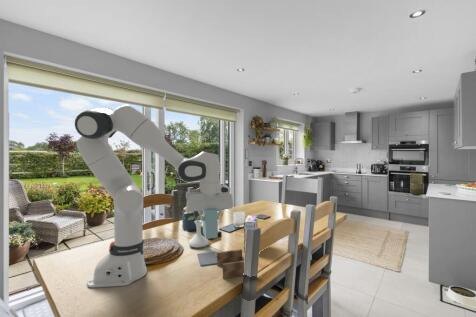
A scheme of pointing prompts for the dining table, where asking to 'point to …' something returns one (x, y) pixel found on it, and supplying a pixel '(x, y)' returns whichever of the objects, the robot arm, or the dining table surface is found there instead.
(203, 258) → the slate coaster
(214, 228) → the teal block
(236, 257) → the walnut rack
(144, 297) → the dining table surface
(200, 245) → the flower in vase
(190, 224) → the canister
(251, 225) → the candy box
